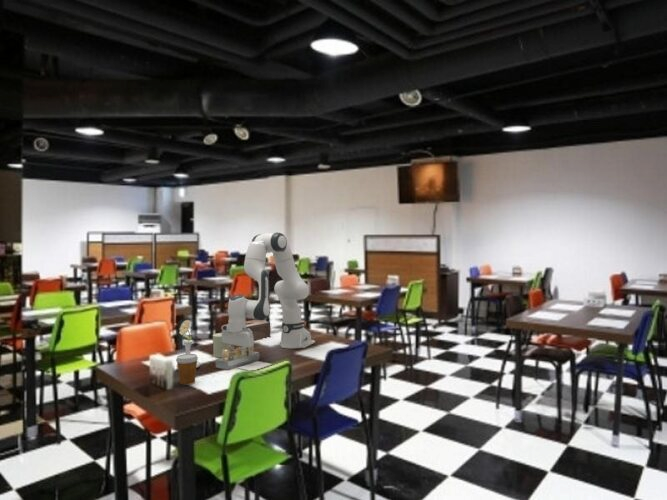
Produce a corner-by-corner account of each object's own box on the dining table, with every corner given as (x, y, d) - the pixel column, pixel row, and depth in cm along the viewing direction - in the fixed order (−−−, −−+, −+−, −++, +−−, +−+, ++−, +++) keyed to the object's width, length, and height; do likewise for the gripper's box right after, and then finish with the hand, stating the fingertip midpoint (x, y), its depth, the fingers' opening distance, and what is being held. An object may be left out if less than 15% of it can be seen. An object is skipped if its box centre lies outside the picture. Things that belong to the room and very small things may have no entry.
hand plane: (247, 357, 251) (246, 339, 251) (259, 359, 246) (259, 341, 246) (215, 367, 233) (215, 347, 233) (228, 370, 228) (227, 350, 228)
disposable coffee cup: (179, 379, 214) (178, 353, 214) (200, 378, 215) (199, 353, 215) (174, 386, 205) (173, 359, 204) (196, 385, 206) (195, 358, 205)
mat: (257, 362, 242) (257, 361, 242) (271, 365, 236) (271, 363, 236) (237, 368, 230) (237, 367, 230) (252, 372, 224) (252, 370, 224)
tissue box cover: (237, 345, 281) (237, 328, 281) (223, 341, 291) (223, 325, 291) (270, 337, 301) (270, 322, 300) (256, 334, 310) (255, 319, 310)
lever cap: (240, 353, 244) (240, 346, 244) (247, 354, 241) (246, 347, 241) (228, 356, 238) (228, 349, 238) (235, 358, 235) (235, 350, 235)
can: (226, 357, 251) (225, 335, 251) (210, 357, 253) (209, 335, 253) (233, 353, 260) (232, 332, 260) (217, 352, 262) (217, 331, 262)
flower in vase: (175, 367, 235) (174, 317, 234) (198, 364, 239) (197, 316, 239) (177, 374, 223) (176, 322, 222) (202, 371, 227) (201, 320, 227)
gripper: (256, 328, 236) (257, 355, 236) (228, 324, 247) (228, 349, 248) (247, 330, 231) (248, 357, 231) (219, 326, 242) (219, 352, 243)
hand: (237, 353), depth 240 cm, fingers closed on lever cap, 5 cm apart
